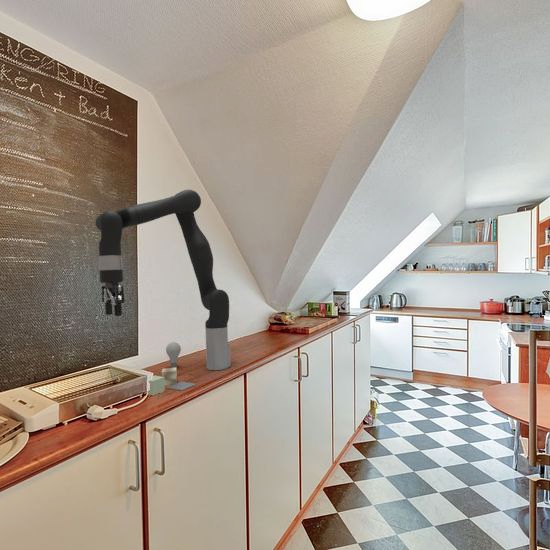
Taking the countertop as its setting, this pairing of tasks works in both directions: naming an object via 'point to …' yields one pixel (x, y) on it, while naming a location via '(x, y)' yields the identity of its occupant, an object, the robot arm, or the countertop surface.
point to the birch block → (169, 376)
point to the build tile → (181, 386)
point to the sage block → (156, 385)
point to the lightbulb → (173, 353)
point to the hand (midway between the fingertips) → (113, 315)
